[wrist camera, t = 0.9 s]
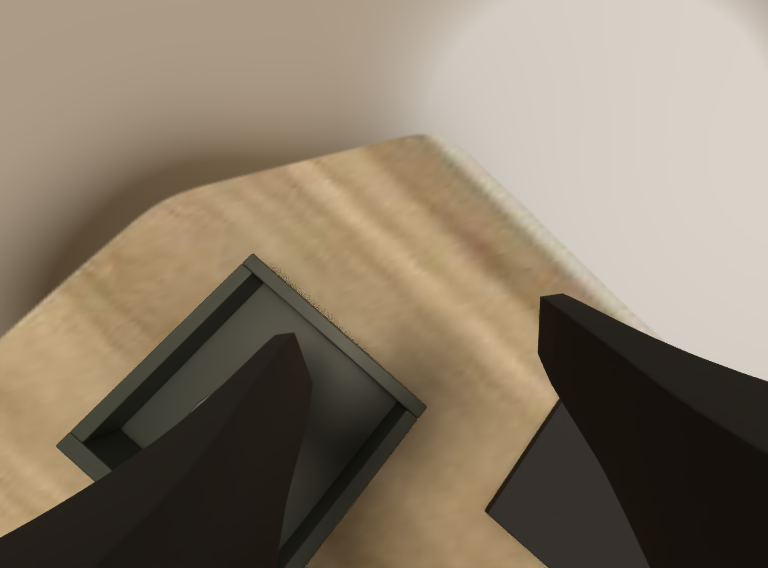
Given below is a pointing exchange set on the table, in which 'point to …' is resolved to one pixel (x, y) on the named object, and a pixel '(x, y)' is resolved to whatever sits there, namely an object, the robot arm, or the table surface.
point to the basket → (221, 360)
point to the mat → (565, 503)
